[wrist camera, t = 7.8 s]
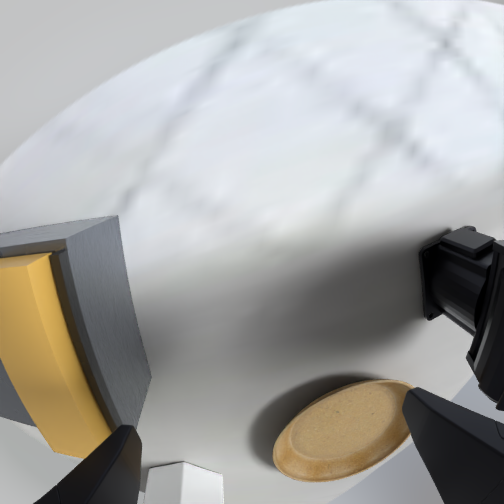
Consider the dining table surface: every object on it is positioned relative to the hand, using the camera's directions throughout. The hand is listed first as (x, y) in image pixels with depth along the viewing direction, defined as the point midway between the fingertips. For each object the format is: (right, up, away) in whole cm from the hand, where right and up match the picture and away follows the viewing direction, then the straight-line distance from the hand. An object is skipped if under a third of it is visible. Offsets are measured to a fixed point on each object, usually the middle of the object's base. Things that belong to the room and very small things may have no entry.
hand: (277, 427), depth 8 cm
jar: (-8, -20, +17) cm, 27 cm away
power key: (-11, 0, +4) cm, 12 cm away
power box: (-15, +1, +11) cm, 18 cm away
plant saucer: (+8, -11, +17) cm, 22 cm away
